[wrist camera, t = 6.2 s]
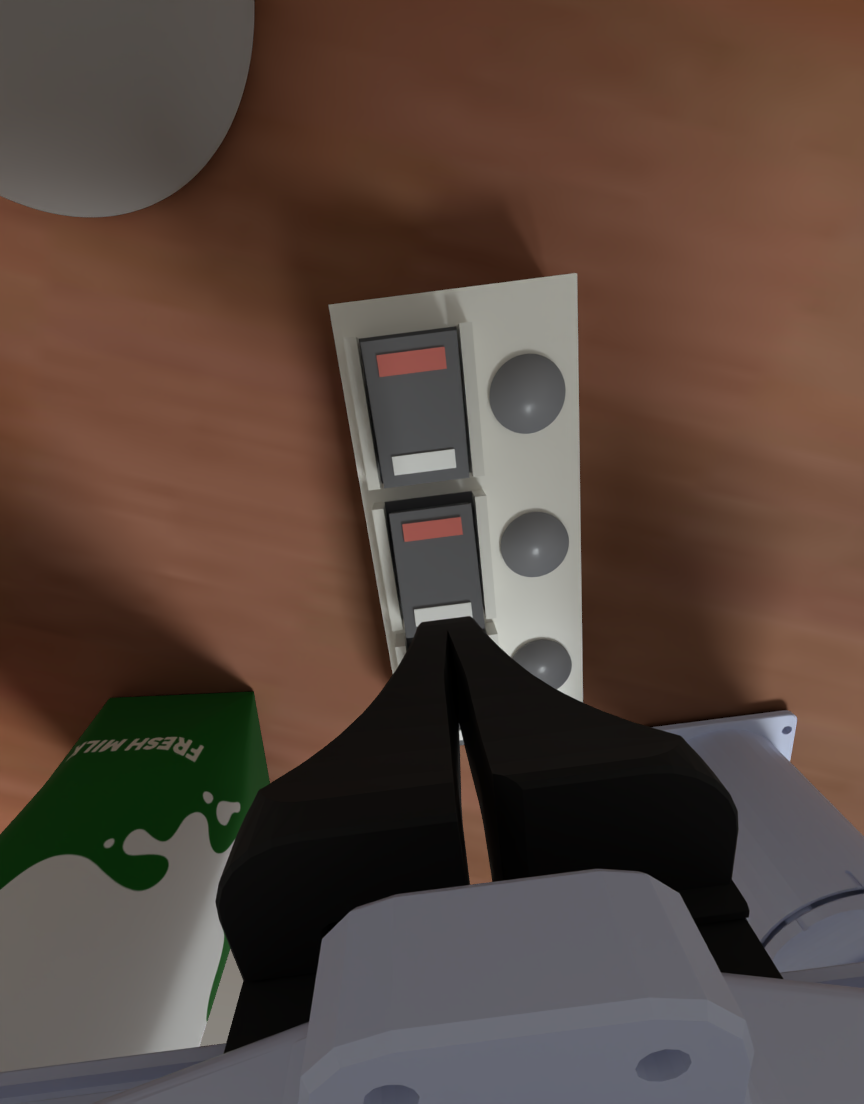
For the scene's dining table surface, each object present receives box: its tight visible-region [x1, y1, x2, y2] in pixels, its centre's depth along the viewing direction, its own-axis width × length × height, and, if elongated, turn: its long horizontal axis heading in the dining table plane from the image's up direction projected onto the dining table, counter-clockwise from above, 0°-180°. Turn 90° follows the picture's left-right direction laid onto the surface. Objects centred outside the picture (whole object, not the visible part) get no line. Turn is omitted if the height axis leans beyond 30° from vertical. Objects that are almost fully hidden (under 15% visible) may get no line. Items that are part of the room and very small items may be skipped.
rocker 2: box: [389, 502, 485, 638], centre depth 17 cm, size 4×3×2 cm, turn 7°
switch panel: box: [328, 273, 583, 702], centre depth 20 cm, size 22×8×4 cm, turn 7°
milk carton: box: [0, 691, 270, 1072], centre depth 15 cm, size 9×9×20 cm
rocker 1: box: [361, 330, 469, 488], centre depth 15 cm, size 4×3×2 cm, turn 7°
